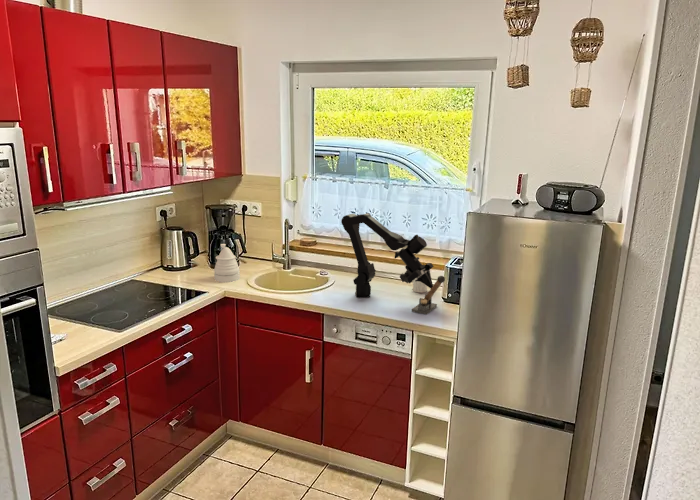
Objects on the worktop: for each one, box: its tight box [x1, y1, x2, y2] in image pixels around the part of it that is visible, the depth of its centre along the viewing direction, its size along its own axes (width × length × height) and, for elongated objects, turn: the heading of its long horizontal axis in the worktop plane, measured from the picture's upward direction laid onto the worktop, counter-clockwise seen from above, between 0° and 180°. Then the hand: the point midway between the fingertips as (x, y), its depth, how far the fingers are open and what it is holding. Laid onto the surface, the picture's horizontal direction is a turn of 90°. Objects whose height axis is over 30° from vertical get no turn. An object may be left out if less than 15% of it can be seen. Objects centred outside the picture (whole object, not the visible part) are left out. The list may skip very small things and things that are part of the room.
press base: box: [411, 293, 438, 315], centre depth 231 cm, size 7×12×6 cm, turn 150°
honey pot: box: [213, 243, 241, 283], centre depth 269 cm, size 13×13×18 cm
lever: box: [424, 275, 446, 303], centre depth 230 cm, size 3×4×15 cm
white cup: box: [412, 278, 428, 294], centre depth 256 cm, size 8×8×10 cm
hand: (432, 287), depth 230 cm, fingers closed, pressing on lever
